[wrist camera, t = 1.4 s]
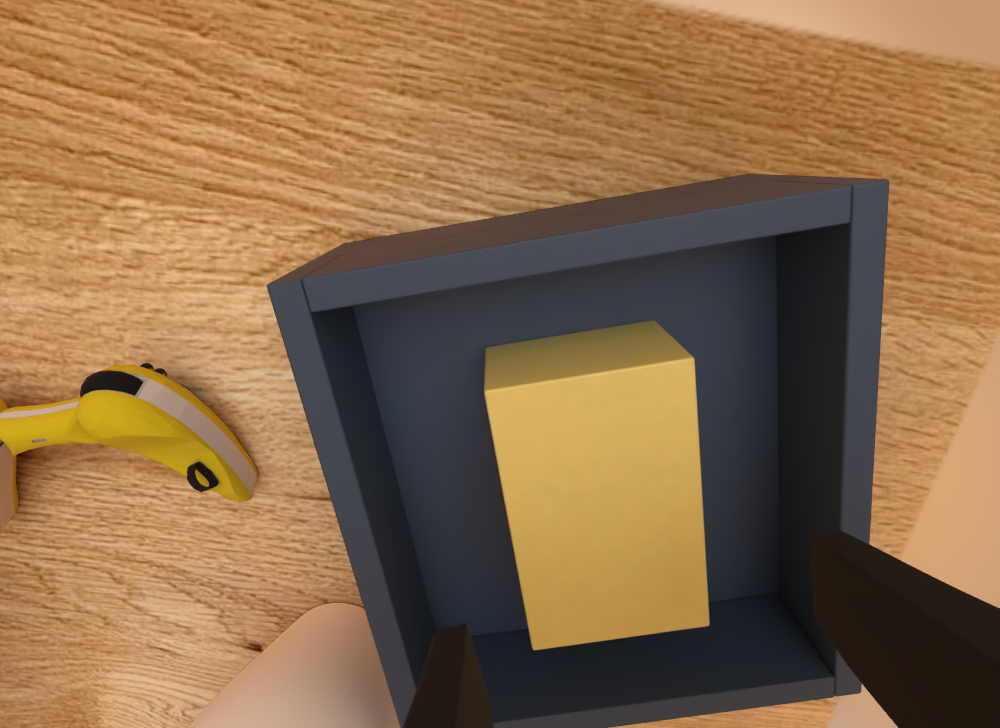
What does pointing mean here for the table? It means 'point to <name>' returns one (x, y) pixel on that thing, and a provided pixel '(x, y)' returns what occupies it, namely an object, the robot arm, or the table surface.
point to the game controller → (131, 431)
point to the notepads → (601, 482)
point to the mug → (310, 679)
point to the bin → (721, 422)
